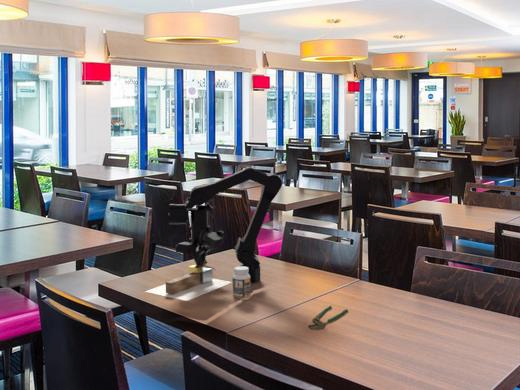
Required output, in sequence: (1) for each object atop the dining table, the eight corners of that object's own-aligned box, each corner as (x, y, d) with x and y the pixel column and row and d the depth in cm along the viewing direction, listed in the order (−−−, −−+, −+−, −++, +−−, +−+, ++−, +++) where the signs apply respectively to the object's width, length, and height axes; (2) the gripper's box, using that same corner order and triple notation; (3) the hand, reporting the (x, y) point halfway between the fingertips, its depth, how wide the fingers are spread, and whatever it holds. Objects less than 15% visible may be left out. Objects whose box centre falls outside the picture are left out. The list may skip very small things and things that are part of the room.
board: (232, 285, 210) (232, 282, 210) (186, 304, 190) (186, 300, 190) (192, 277, 220) (192, 274, 220) (144, 294, 200) (144, 291, 200)
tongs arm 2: (196, 283, 208) (196, 272, 208) (199, 283, 207) (199, 273, 207) (168, 293, 197) (168, 282, 196) (171, 294, 196) (171, 283, 195)
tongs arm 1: (193, 282, 209) (193, 272, 208) (196, 282, 208) (196, 272, 208) (165, 292, 197) (165, 282, 197) (168, 293, 197) (168, 282, 196)
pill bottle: (248, 301, 193) (248, 270, 191) (230, 300, 194) (230, 269, 192) (252, 295, 198) (252, 266, 197) (235, 295, 199) (234, 265, 198)
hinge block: (202, 279, 214) (202, 266, 214) (212, 281, 212) (212, 268, 211) (193, 282, 210) (192, 270, 209) (203, 284, 208) (202, 271, 207)
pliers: (329, 308, 187) (329, 304, 187) (349, 311, 183) (349, 307, 183) (299, 328, 170) (299, 323, 170) (321, 332, 167) (321, 327, 167)
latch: (194, 269, 210) (194, 264, 209) (202, 271, 208) (202, 266, 207) (188, 271, 207) (188, 266, 207) (197, 273, 205) (197, 268, 205)
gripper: (200, 230, 195) (201, 278, 197) (235, 221, 210) (235, 265, 212) (173, 227, 201) (175, 273, 203) (209, 218, 216) (210, 261, 219)
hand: (200, 268), depth 209 cm, fingers closed
